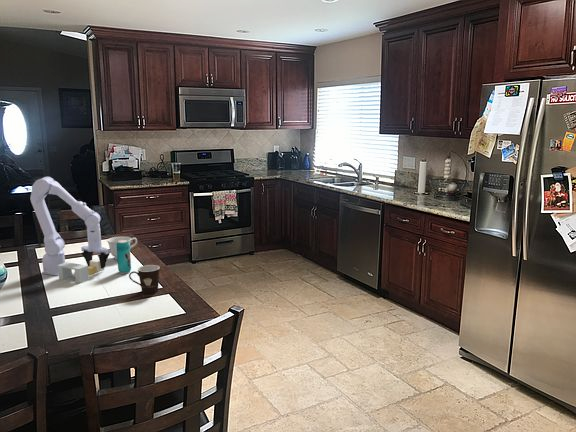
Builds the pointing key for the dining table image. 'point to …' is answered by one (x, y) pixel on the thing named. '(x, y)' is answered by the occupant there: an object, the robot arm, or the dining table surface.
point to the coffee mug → (148, 278)
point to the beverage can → (123, 256)
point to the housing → (80, 271)
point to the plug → (94, 266)
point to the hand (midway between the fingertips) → (96, 267)
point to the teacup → (113, 243)
